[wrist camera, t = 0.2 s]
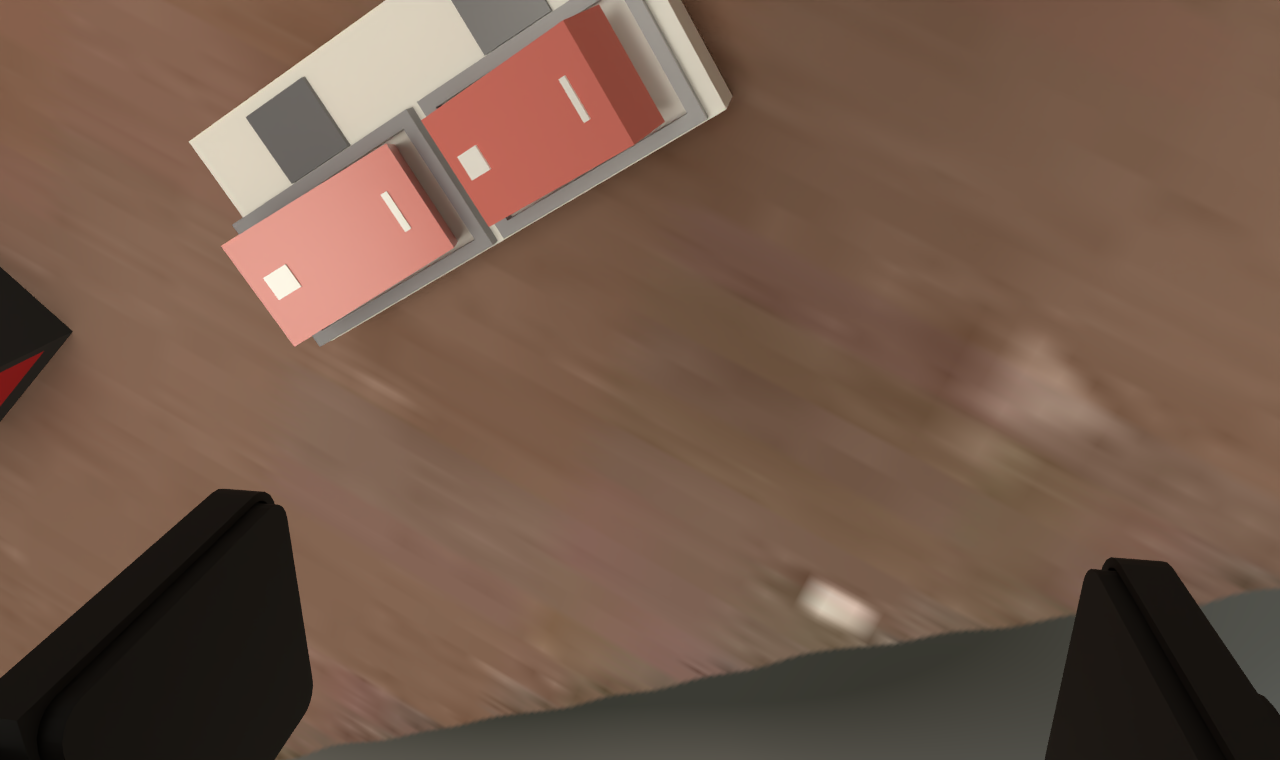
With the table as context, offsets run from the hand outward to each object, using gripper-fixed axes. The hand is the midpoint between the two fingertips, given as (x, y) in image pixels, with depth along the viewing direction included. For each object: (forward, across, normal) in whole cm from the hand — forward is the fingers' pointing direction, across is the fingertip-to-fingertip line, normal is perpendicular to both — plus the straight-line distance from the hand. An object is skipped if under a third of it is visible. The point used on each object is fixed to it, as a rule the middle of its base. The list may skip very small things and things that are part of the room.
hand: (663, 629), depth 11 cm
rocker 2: (+30, +8, -2) cm, 31 cm away
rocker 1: (+30, +18, +3) cm, 35 cm away
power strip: (+37, +15, 0) cm, 40 cm away
